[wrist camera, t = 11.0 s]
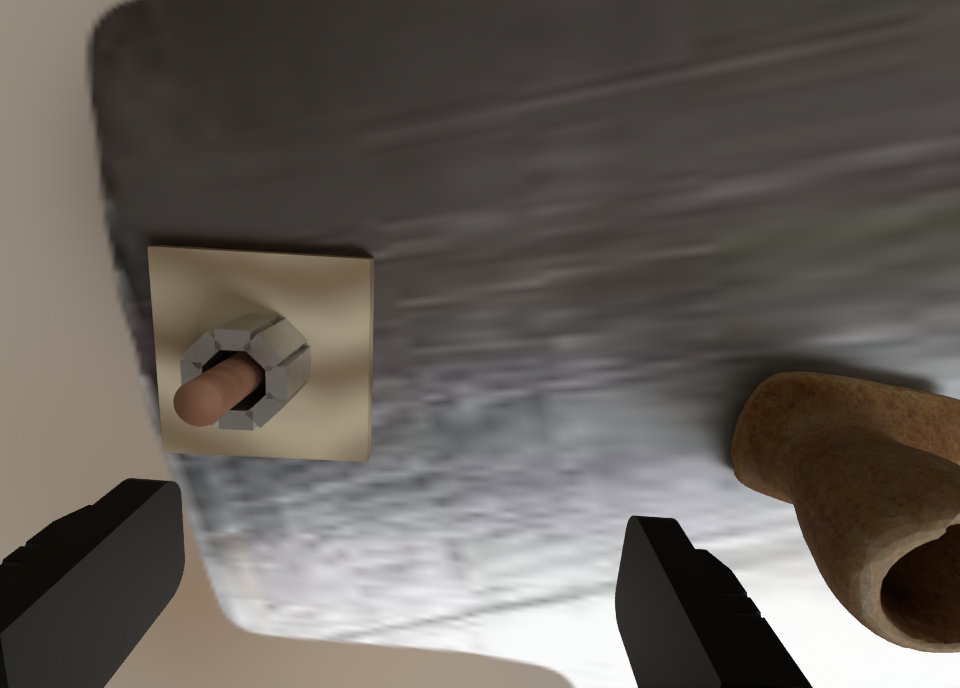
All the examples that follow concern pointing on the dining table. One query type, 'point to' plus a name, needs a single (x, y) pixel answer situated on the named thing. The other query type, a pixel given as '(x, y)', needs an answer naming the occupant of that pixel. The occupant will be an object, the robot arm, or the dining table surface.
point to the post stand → (200, 402)
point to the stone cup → (866, 494)
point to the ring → (270, 348)
